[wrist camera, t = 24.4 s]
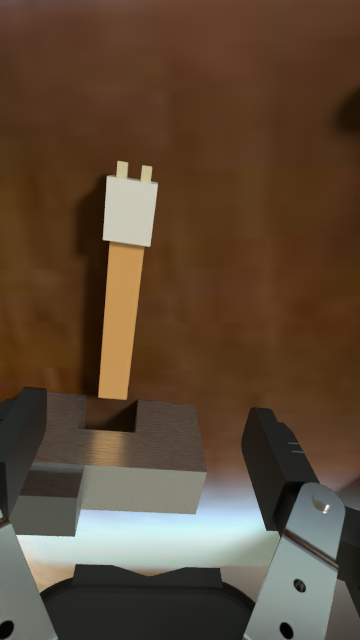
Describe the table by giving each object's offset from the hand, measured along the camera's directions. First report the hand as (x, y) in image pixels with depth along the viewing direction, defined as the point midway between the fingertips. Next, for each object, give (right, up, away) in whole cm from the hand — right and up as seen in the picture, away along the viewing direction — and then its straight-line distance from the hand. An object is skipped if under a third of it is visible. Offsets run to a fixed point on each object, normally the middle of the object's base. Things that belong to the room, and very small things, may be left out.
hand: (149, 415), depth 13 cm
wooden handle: (-5, +7, +21) cm, 23 cm away
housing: (-7, -8, +28) cm, 30 cm away
